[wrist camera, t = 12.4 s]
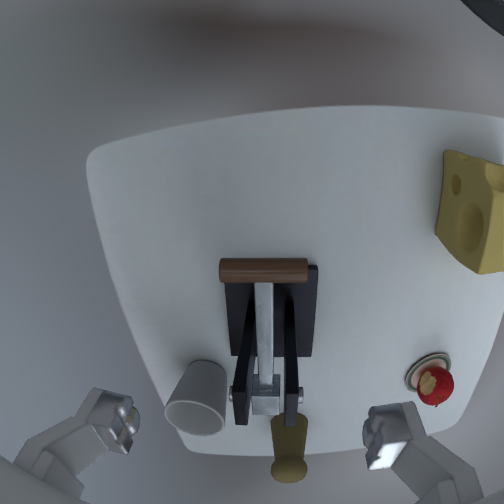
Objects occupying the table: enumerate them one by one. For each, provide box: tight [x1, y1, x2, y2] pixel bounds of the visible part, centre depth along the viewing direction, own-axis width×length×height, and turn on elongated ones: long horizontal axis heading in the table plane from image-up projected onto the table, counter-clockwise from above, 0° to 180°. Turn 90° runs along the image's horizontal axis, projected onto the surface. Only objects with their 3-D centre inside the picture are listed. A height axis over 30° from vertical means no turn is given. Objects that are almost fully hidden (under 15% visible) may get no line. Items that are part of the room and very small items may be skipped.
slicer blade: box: [219, 258, 308, 415], centre depth 20 cm, size 14×5×2 cm, turn 2°
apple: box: [405, 354, 454, 407], centre depth 34 cm, size 8×8×6 cm
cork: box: [271, 413, 308, 483], centre depth 38 cm, size 6×6×11 cm
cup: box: [164, 361, 227, 436], centre depth 36 cm, size 8×10×8 cm
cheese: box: [435, 150, 504, 274], centre depth 23 cm, size 10×11×10 cm
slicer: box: [225, 265, 318, 426], centre depth 28 cm, size 12×10×15 cm
